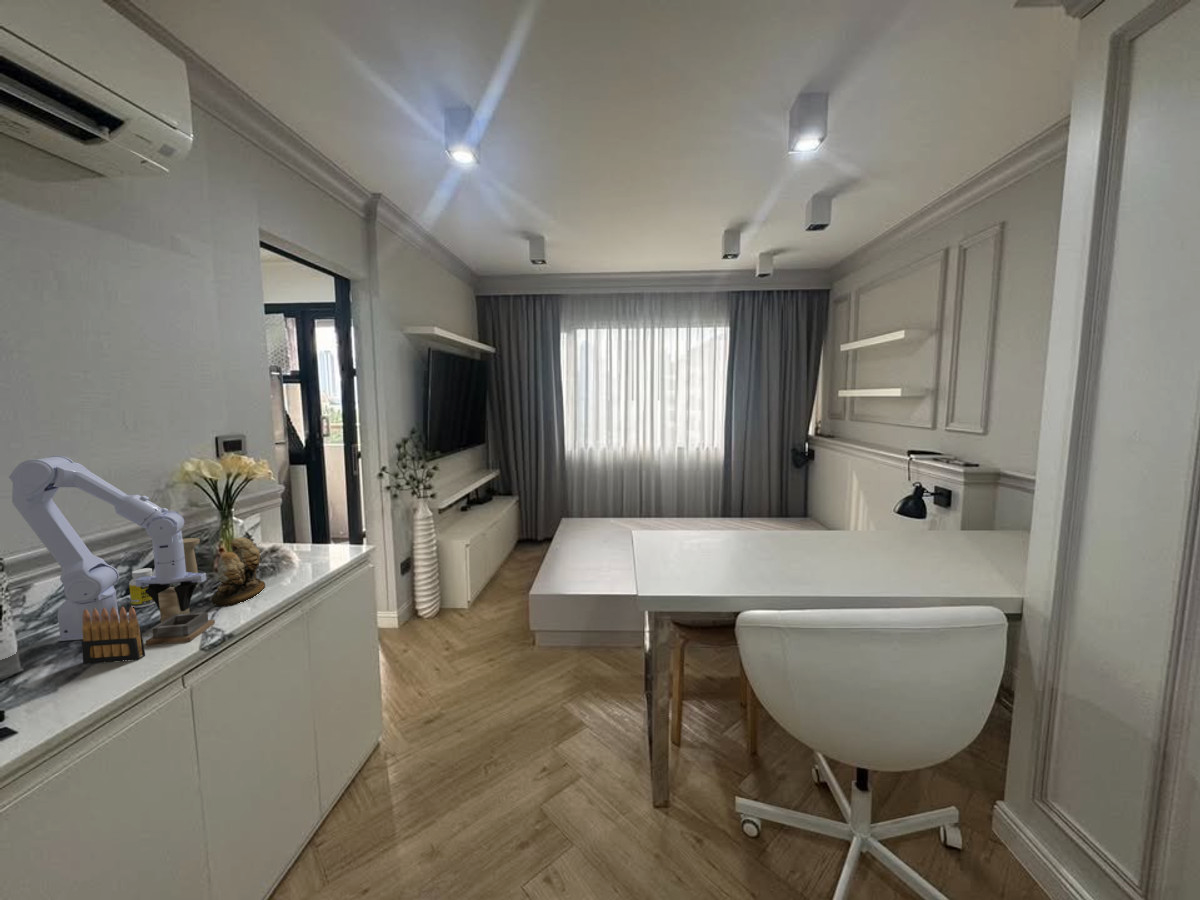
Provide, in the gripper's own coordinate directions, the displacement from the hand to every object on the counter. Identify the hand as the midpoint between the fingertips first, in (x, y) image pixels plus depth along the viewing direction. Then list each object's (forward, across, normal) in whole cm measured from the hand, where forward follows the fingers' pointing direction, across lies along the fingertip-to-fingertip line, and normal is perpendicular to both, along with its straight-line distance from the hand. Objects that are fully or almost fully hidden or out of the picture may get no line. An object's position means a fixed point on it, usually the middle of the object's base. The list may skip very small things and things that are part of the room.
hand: (175, 610), depth 119 cm
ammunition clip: (+3, 0, +19) cm, 19 cm away
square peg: (+2, 0, 0) cm, 2 cm away
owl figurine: (+3, -7, -15) cm, 17 cm away
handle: (+3, +10, -22) cm, 24 cm away
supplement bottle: (+3, +15, -12) cm, 19 cm away
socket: (+2, -7, +9) cm, 12 cm away
